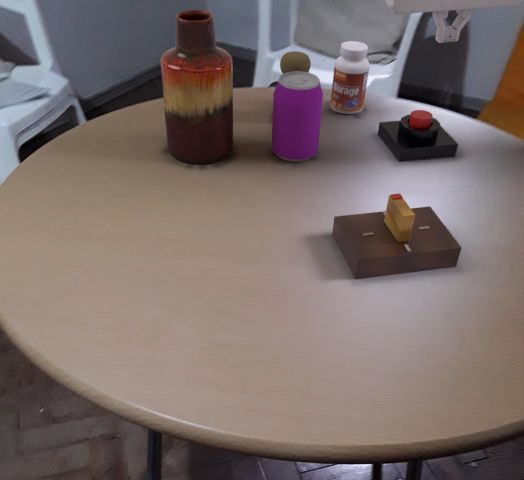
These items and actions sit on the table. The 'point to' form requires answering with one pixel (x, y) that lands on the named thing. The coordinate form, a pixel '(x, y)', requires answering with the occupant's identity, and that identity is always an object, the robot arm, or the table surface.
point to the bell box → (416, 140)
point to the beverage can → (296, 116)
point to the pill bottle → (350, 78)
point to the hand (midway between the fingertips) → (446, 41)
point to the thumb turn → (399, 217)
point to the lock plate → (394, 244)
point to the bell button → (420, 119)
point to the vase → (197, 92)
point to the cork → (295, 62)
